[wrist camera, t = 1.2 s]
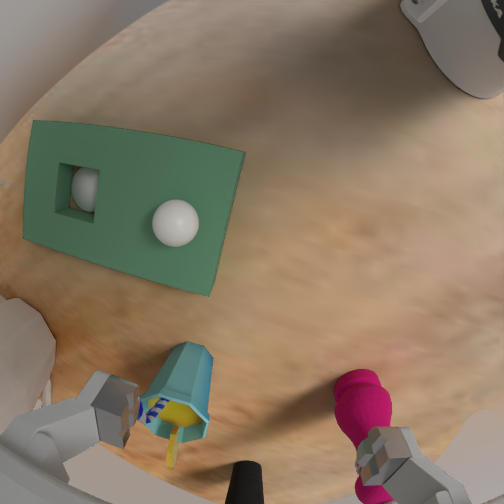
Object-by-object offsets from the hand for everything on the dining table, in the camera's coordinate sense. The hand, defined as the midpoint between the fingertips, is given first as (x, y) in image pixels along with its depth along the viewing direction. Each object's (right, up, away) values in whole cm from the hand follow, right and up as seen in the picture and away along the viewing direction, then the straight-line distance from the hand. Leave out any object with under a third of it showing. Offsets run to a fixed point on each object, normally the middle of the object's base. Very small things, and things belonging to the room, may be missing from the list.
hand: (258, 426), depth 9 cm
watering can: (-35, -5, +28) cm, 45 cm away
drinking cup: (-1, -32, +35) cm, 47 cm away
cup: (-8, -7, +27) cm, 29 cm away
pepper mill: (+14, -12, +27) cm, 33 cm away
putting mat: (-14, +12, +21) cm, 28 cm away
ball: (-7, +8, +16) cm, 20 cm away
